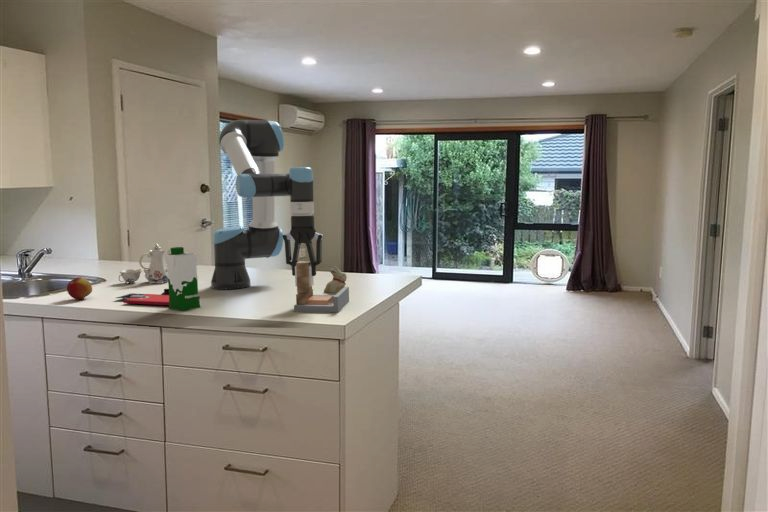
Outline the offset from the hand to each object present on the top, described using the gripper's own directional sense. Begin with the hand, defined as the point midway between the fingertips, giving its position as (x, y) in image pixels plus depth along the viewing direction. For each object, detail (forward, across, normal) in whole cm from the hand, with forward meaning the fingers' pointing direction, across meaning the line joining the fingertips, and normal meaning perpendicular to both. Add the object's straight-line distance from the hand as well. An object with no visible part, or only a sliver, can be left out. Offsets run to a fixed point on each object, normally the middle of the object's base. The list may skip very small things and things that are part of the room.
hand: (304, 285), depth 200 cm
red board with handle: (+7, -55, +4) cm, 55 cm away
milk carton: (+7, -39, -6) cm, 40 cm away
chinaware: (+7, -76, +44) cm, 88 cm away
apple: (+7, -84, +5) cm, 85 cm away
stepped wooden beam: (+6, 0, 0) cm, 6 cm away
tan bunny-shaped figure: (+7, +5, +26) cm, 27 cm away
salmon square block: (+7, +5, 0) cm, 9 cm away
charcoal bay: (+7, +6, 0) cm, 9 cm away
